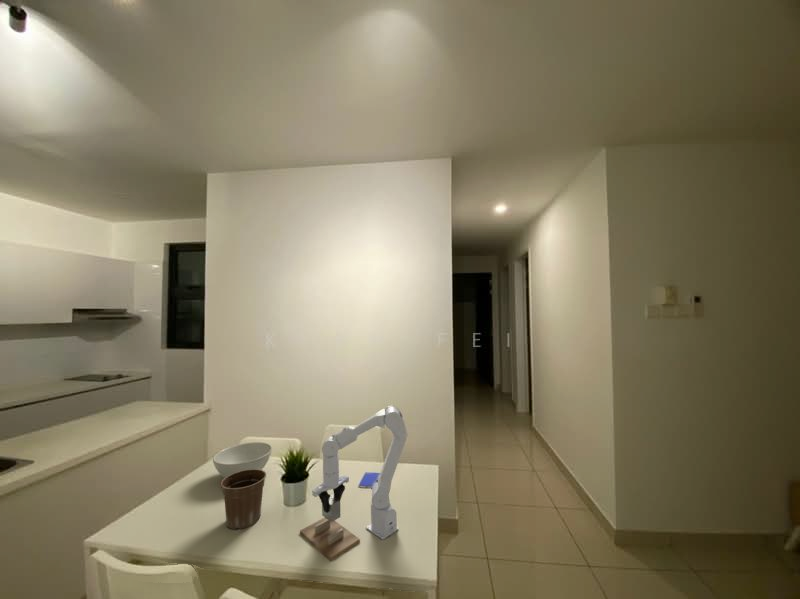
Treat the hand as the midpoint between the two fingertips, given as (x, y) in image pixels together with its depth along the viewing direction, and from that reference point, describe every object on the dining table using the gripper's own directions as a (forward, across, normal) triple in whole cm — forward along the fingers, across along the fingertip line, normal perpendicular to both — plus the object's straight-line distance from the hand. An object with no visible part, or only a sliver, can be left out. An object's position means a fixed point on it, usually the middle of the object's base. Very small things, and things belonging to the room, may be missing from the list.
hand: (331, 508), depth 120 cm
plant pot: (+9, +20, -32) cm, 39 cm away
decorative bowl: (+9, +7, -69) cm, 70 cm away
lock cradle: (+8, +2, +2) cm, 9 cm away
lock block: (+3, 0, 0) cm, 3 cm away
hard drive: (+9, -34, -19) cm, 39 cm away
